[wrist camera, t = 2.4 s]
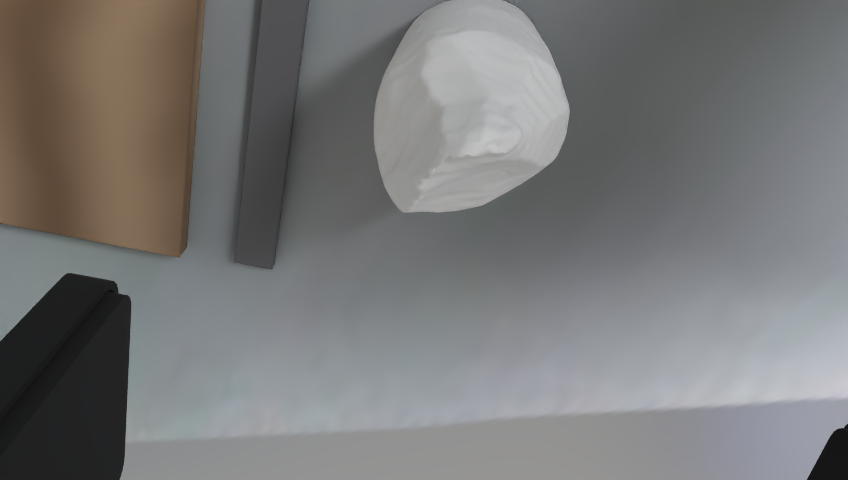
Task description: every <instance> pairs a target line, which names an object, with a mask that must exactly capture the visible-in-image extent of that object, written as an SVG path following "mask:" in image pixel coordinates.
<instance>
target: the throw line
mask: <svg viewBox="0 0 848 480" xmlns="http://www.w3.org/2000/svg"><path fill="white" fill-rule="evenodd" d="M308 4H309V0H262V8H261V18H260V27H259V37H258V46H257V56H256V65H255V74H254V84H253V93H252V103H251V112H250V121H249V131H248V140H247V150H246V159H245V168H244V178H243V187H242V197H241V206H240V215H239V225H238V234H237V244H236V253H235V262H236V263H241V264H246V265H251V266H256V267H261V268H267V269H272V268H273V266H274V262H275V255H276V247H277V240H278V232H279V225H280V217H281V209H282V202H283V194H284V187H285V179H286V171H287V164H288V156H289V149H290V141H291V133H292V126H293V118H294V111H295V103H296V96H297V88H298V80H299V73H300V65H301V58H302V50H303V42H304V35H305V27H306V20H307V12H308Z"/></svg>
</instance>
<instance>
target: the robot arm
mask: <svg viewBox="0 0 848 480" xmlns="http://www.w3.org/2000/svg"><path fill="white" fill-rule="evenodd" d="M130 322H131V300H130V297H129V296H128V295H122V294H118V287H117V284H116V283H115V282H114V281H110V280H105V279H99V278H94V277H89V276H83V275H78V274H72V273H67V274H66V275H64V276H63V277H62V278H61V279H60V280H59V281H58V282H57V283H56V284H55V285H54V286H53V287H52V288H51V289H50V290H49V291H48V292H47V293H46V295H45V296H44V297H43V298H42V299H41V300H40V301H39V302H38V303H37V304H36V305H35V306H34V307H33V308H32V309H31V310H30V311H29V312H28V313H27V314H26V315H25V316H24V317H23V318H22V319H21V320H20V322H19V323H18V324H17V325H16V326H15V327H14V328H13V329H12V330H11V331H10V332H9V333H8V334H7V335H6V336H5V337H4V338H3V339H2V340H1V341H0V480H119V479H120V477H121V473H122V470H123V465H124V456H125V434H126V412H127V389H128V367H129V344H130ZM807 480H848V424H847V425H846V426H845V427H844V428H841V429H837V430H836V431H834V432H833V434H832V435H831V436H830V438H829V440H828V442H827V444H826V445H825V447H824V449H823V451H822V453H821V455H820V457H819V459H818V460H817V462H816V464H815V466H814V468H813V470H812V471H811V473H810V475H809V477H808V479H807Z"/></svg>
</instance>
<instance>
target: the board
mask: <svg viewBox="0 0 848 480" xmlns="http://www.w3.org/2000/svg"><path fill="white" fill-rule="evenodd" d="M204 10H205V0H0V223H3V224H8V225H13V226H18V227H23V228H28V229H34V230H39V231H44V232H49V233H54V234H60V235H65V236H70V237H75V238H80V239H85V240H91V241H96V242H101V243H106V244H111V245H116V246H122V247H127V248H132V249H137V250H142V251H148V252H153V253H158V254H163V255H168V256H173V257H180V256H181V254H182V253H183V252H184V250H185V249H186V247H187V236H188V223H189V209H190V196H191V183H192V169H193V156H194V143H195V129H196V116H197V103H198V89H199V76H200V63H201V49H202V36H203V23H204Z"/></svg>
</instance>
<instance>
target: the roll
mask: <svg viewBox="0 0 848 480" xmlns="http://www.w3.org/2000/svg"><path fill="white" fill-rule="evenodd" d="M569 115H570V108H569V103H568V100H567V98H566V94H565V91H564V88H563V85H562V81H561V77H560V74H559V72H558V70H557V68H556V66H555V63H554V60H553V57H552V56H551V53H550V51H549V49H548V48H547V46H546V44H545V43H544V41H543V39H542V38H541V37H540V35H539V33H538V32H537V30H536V28H535V26H534V24H533V23H532V22H531V20H530V19H529V18H528V17H527V15H526V14H525V13H524V12H523V11H521V10H520V9H519V8H518V7H516V6H515V5H512V4H510V3H508V2H505V1H503V0H450V1H446V2H443V3H440V4H438V5H436V6H434V7H432V8H429V9H427V10H426V11H424V12H423V13H422V14H421V15H420V16H419V17H418V18H417V19H416V20H415V21H414V22H413V24H412V25H411V26H410V27H409V29H408V30H407V32H406V34H405V35H404V37H403V39H402V41H401V42H400V44H399V46H398V48H397V50H396V52H395V54H394V56H393V58H392V60H391V61H390V63H389V65H388V67H387V69H386V71H385V74H384V76H383V79H382V82H381V84H380V87H379V91H378V94H377V98H376V104H375V112H374V146H375V152H376V156H377V160H378V166H379V170H380V174H381V177H382V180H383V184H384V187H385V189H386V191H387V192H388V194H389V196H390V198H391V199H392V201H393V202H394V203H395V205H396V206H397V207H398V208H399V210H401V211H402V212H404V213H411V212H433V213H441V212H451V211H458V210H464V209H469V208H474V207H479V206H482V205H484V204H486V203H488V202H490V201H492V200H494V199H495V198H497V197H499V196H501V195H503V194H505V193H507V192H508V191H510V190H511V189H513V188H515V187H517V186H519V185H521V184H522V183H523V182H525V181H526V180H528V179H530V178H531V177H533V176H534V175H536V174H537V173H539V172H540V171H541V170H543V169H544V168H545V167H546V166H548V165H549V164H550V163H552V162H553V161H554V160H555V158H556V157H557V156H558V154H559V151H560V148H561V146H562V144H563V142H564V140H565V136H566V133H567V127H568V120H569Z"/></svg>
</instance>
